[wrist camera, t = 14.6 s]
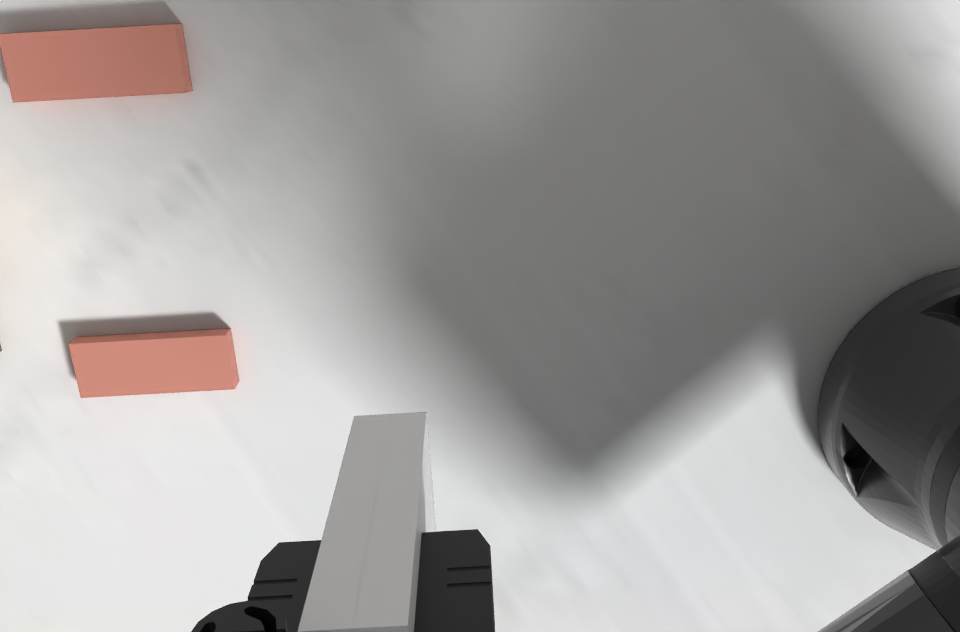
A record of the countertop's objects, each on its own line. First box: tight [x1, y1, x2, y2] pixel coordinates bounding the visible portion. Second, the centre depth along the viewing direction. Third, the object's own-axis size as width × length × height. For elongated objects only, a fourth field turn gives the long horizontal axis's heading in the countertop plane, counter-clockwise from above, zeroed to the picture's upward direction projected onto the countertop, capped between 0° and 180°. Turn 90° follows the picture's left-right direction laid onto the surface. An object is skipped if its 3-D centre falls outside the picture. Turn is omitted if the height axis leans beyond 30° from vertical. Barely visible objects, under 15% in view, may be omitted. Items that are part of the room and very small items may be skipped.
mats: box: [0, 24, 239, 398], centre depth 43 cm, size 8×18×1 cm, turn 3°
